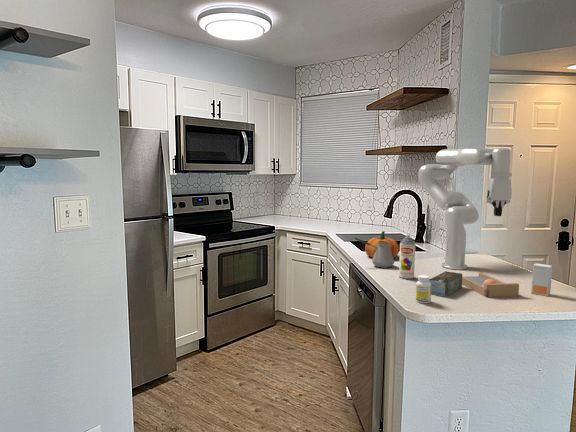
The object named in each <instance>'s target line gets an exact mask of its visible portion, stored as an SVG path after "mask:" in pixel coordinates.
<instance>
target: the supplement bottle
mask: <svg viewBox="0 0 576 432" xmlns="http://www.w3.org/2000/svg"><path fill="white" fill-rule="evenodd" d="M417 279H418V280H417V281H416V282H415V283H416V284H415V301H416V302H417V303H419V304H429V303H431V301H432V294H431V283H430V282H429V279H430V276H429V275H423V274H420V275H418V276H417Z"/></svg>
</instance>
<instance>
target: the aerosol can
mask: <svg viewBox="0 0 576 432" xmlns="http://www.w3.org/2000/svg"><path fill="white" fill-rule="evenodd" d="M415 261H416V241H414V239H413V238H412V237H411V235H410V234H406V235H405V237H404V238H403V239H402V240H400V243H399V263H398V264H399V268H398V269H399V270H398V272H399V273H398V278H399V279H401V278H402V279H401V280H407V279H411V280H414V279H415V269H416V268H415V263H416V262H415Z"/></svg>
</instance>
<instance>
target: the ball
mask: <svg viewBox="0 0 576 432" xmlns="http://www.w3.org/2000/svg"><path fill="white" fill-rule="evenodd" d="M485 284H496V282H495V281H494V280H492V279H487V280H485V281H484V283H483V286H484V287H485Z"/></svg>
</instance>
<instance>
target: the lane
mask: <svg viewBox="0 0 576 432" xmlns="http://www.w3.org/2000/svg"><path fill="white" fill-rule="evenodd" d="M487 279H492V280H494V281H495V282H496V284H485V287H484V286H483V283H484V281H485V280H487ZM462 286H464V287H466V288H468V289H470V290H473V291H474V292H476V293H477V294H479V295H482V296H483V297H485V298H502V297H503V298H504V297H506V298H508V297H510V298H511V297H512V298H513V297H519V291H520V284H519V283H517V282H509V283H508V282H507V283H506V282H504V281H502V280H499V279H497V278H496V277H492V276H490V275H488V274H486V273H483V272H478V276H473V275H472V276H470V275H469V276H463V275H462Z"/></svg>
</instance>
